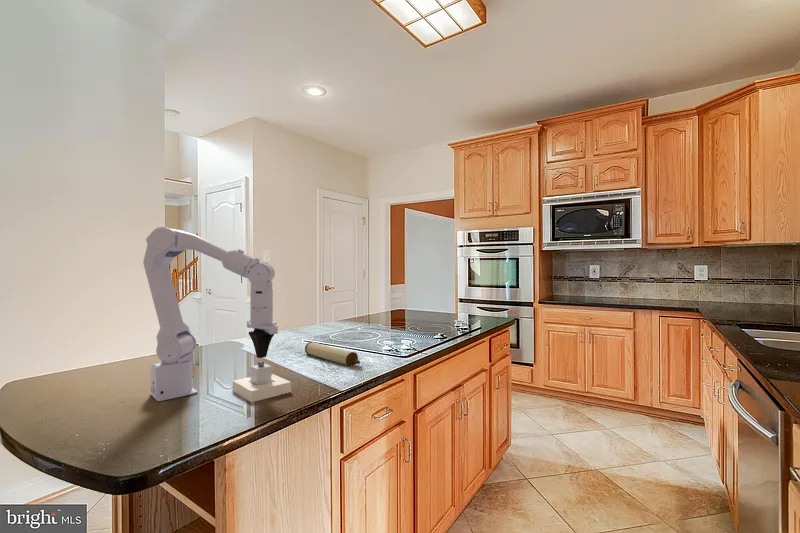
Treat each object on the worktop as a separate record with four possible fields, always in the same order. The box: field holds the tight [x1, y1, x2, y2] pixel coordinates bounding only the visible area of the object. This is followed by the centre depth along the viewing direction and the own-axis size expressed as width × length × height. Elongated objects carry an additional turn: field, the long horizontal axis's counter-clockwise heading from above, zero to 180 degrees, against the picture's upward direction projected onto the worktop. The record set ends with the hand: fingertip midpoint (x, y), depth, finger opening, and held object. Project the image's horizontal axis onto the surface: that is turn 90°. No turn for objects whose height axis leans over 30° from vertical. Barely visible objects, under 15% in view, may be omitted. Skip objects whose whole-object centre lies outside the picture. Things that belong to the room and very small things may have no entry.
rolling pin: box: [304, 341, 361, 367], centre depth 142 cm, size 32×6×5 cm, turn 46°
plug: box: [250, 360, 272, 386], centre depth 107 cm, size 4×4×8 cm
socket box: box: [232, 372, 292, 403], centre depth 107 cm, size 11×12×3 cm
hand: (261, 357), depth 107 cm, fingers closed
